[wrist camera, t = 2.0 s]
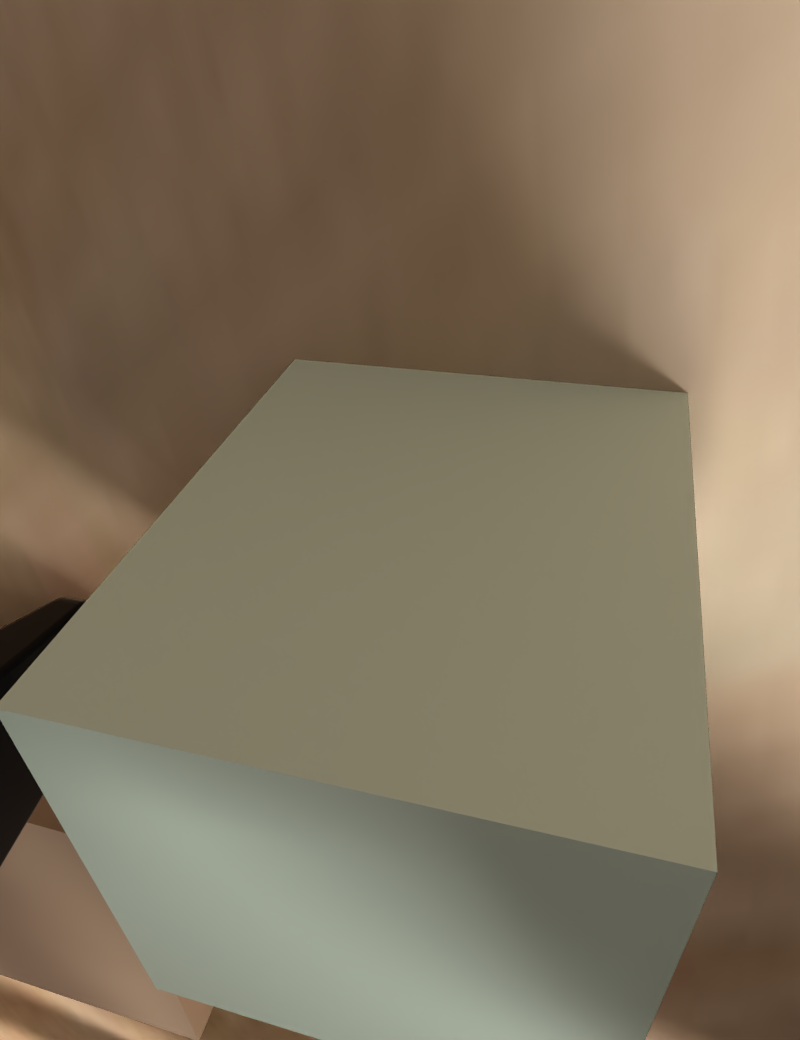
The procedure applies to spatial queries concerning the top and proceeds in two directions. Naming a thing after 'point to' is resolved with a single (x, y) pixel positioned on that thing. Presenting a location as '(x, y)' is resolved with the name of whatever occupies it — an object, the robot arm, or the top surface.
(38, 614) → the robot arm
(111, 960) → the block
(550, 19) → the top surface
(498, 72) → the top surface
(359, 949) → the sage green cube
